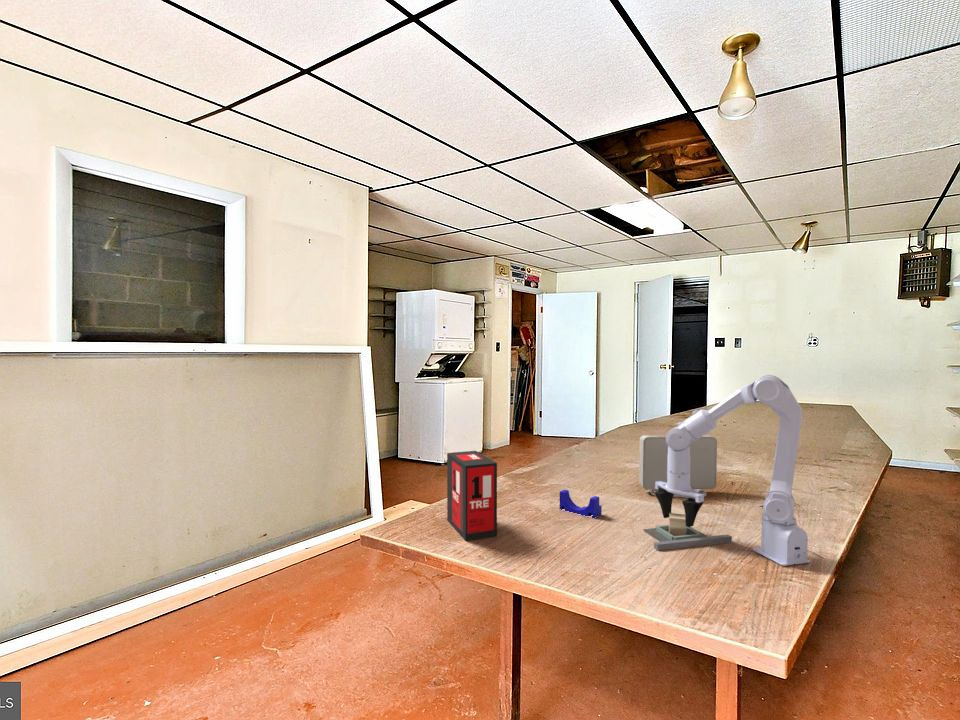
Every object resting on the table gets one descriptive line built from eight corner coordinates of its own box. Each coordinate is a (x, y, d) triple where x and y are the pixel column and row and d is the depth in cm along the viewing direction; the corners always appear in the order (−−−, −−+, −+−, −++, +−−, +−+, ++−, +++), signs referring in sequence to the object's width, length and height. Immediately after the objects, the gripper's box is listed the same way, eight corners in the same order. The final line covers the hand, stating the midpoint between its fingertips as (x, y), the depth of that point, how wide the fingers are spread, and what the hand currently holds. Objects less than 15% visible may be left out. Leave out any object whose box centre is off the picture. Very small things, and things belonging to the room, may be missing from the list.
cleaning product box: (496, 536, 135) (496, 463, 135) (465, 541, 132) (465, 465, 131) (475, 516, 151) (475, 450, 150) (447, 520, 148) (447, 452, 147)
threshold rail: (731, 542, 132) (731, 536, 132) (657, 550, 126) (657, 544, 126) (727, 539, 133) (727, 534, 133) (654, 548, 128) (654, 542, 128)
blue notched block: (601, 515, 153) (601, 495, 152) (594, 519, 149) (594, 499, 149) (567, 507, 160) (567, 488, 160) (559, 510, 157) (559, 491, 157)
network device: (645, 497, 170) (645, 438, 169) (636, 489, 179) (636, 433, 178) (719, 496, 171) (720, 438, 170) (707, 489, 180) (707, 433, 179)
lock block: (685, 537, 133) (685, 519, 133) (669, 536, 135) (669, 517, 134) (684, 532, 137) (684, 514, 137) (668, 530, 138) (669, 512, 138)
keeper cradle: (714, 541, 132) (714, 535, 132) (667, 546, 129) (667, 540, 129) (687, 526, 143) (687, 521, 143) (643, 530, 140) (643, 525, 140)
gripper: (712, 476, 131) (711, 527, 131) (668, 464, 144) (667, 511, 144) (693, 479, 127) (692, 532, 128) (649, 467, 140) (649, 515, 141)
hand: (678, 521), depth 136 cm, fingers open, 7 cm apart
